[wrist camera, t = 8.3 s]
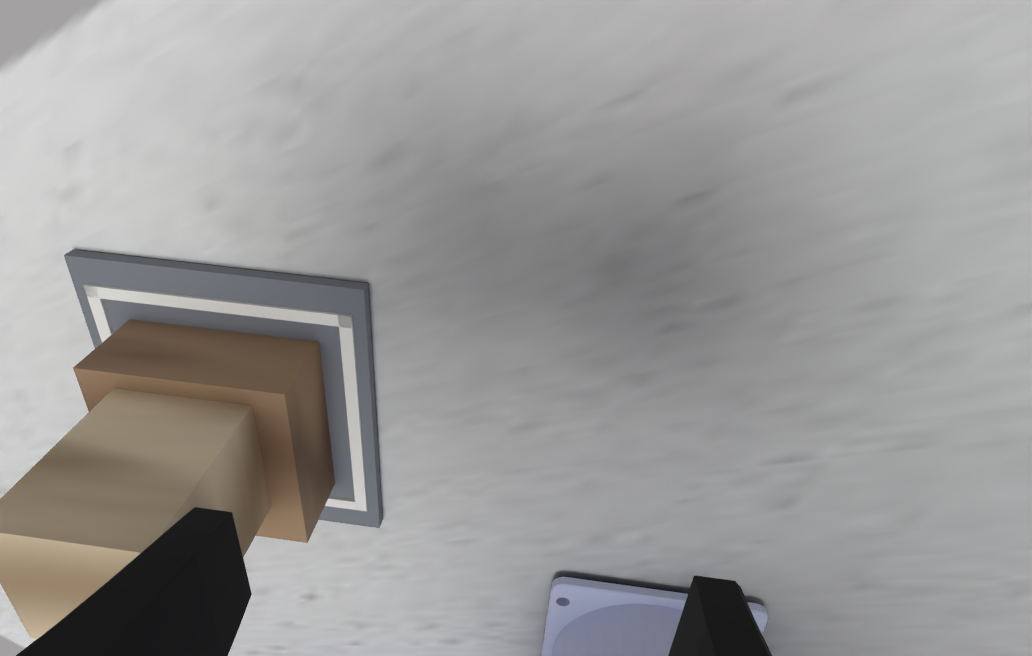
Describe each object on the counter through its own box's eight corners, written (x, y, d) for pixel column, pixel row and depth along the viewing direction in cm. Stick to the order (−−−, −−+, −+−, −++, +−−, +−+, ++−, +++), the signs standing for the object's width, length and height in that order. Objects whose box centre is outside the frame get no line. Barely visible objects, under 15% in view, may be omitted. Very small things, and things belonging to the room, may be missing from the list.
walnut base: (335, 483, 23) (307, 542, 21) (171, 461, 24) (127, 517, 22) (319, 341, 20) (284, 394, 18) (129, 319, 21) (73, 367, 18)
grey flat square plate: (382, 519, 25) (378, 530, 24) (149, 487, 25) (142, 497, 25) (368, 283, 19) (362, 291, 19) (73, 249, 20) (61, 256, 20)
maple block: (271, 507, 21) (185, 661, 16) (146, 490, 21) (30, 637, 17) (252, 406, 18) (147, 553, 14) (113, 388, 19) (-30, 528, 14)
